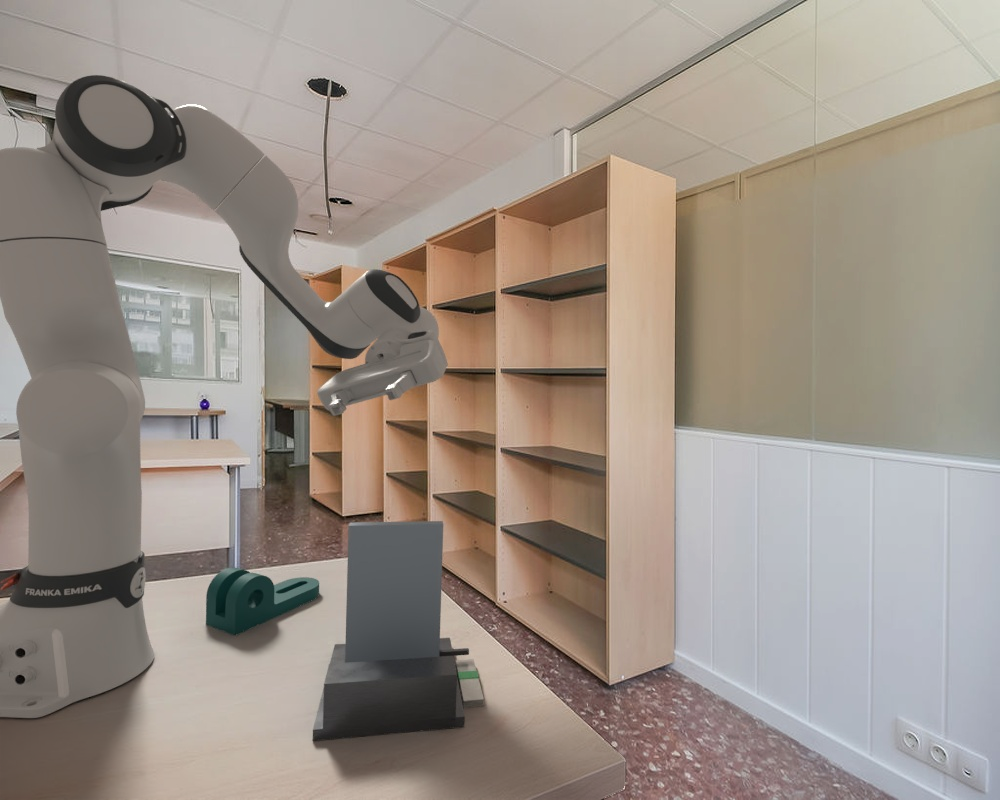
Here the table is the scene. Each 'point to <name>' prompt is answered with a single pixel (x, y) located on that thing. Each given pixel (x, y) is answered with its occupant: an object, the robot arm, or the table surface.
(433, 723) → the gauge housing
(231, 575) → the bracket
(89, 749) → the table surface
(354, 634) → the grey upright panel
